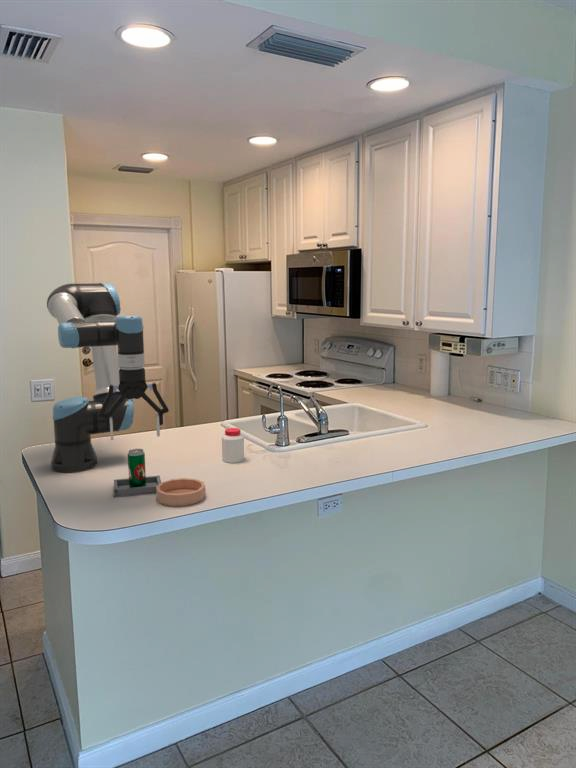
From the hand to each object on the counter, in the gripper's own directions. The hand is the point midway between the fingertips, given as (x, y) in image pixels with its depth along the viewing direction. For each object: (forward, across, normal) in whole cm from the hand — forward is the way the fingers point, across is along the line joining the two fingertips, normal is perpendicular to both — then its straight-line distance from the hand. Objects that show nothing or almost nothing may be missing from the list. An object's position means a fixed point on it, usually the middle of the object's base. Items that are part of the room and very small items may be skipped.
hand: (135, 437), depth 180 cm
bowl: (+17, +12, -11) cm, 23 cm away
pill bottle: (+17, +34, +21) cm, 43 cm away
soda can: (+16, 0, 0) cm, 16 cm away
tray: (+16, 0, 0) cm, 17 cm away
